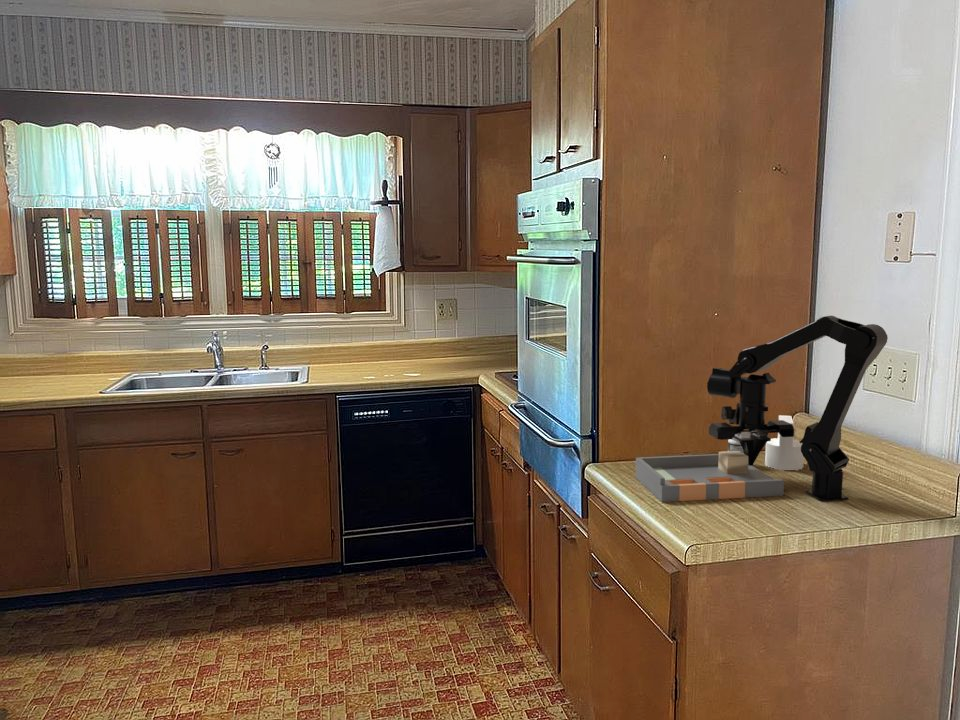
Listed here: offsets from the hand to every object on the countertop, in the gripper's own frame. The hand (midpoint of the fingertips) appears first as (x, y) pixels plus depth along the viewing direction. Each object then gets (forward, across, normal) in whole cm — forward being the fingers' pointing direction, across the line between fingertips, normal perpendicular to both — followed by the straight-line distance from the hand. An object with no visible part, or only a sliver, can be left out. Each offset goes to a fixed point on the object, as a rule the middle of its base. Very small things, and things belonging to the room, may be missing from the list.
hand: (750, 465), depth 178 cm
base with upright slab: (+4, -14, -10) cm, 18 cm away
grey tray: (+4, +12, +3) cm, 13 cm away
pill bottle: (+4, -3, -13) cm, 14 cm away
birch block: (+1, +4, 0) cm, 4 cm away
